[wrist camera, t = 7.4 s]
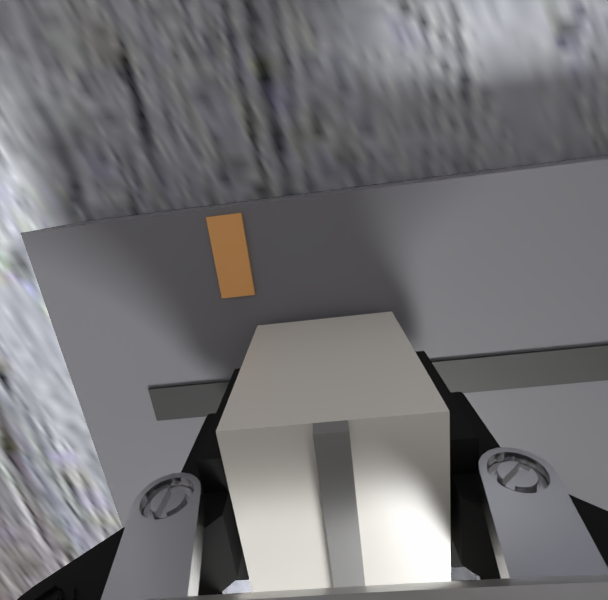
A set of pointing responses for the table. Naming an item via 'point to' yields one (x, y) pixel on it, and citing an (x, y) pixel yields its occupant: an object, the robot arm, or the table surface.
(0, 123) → the table surface
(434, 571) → the fader tab
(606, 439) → the fader console
